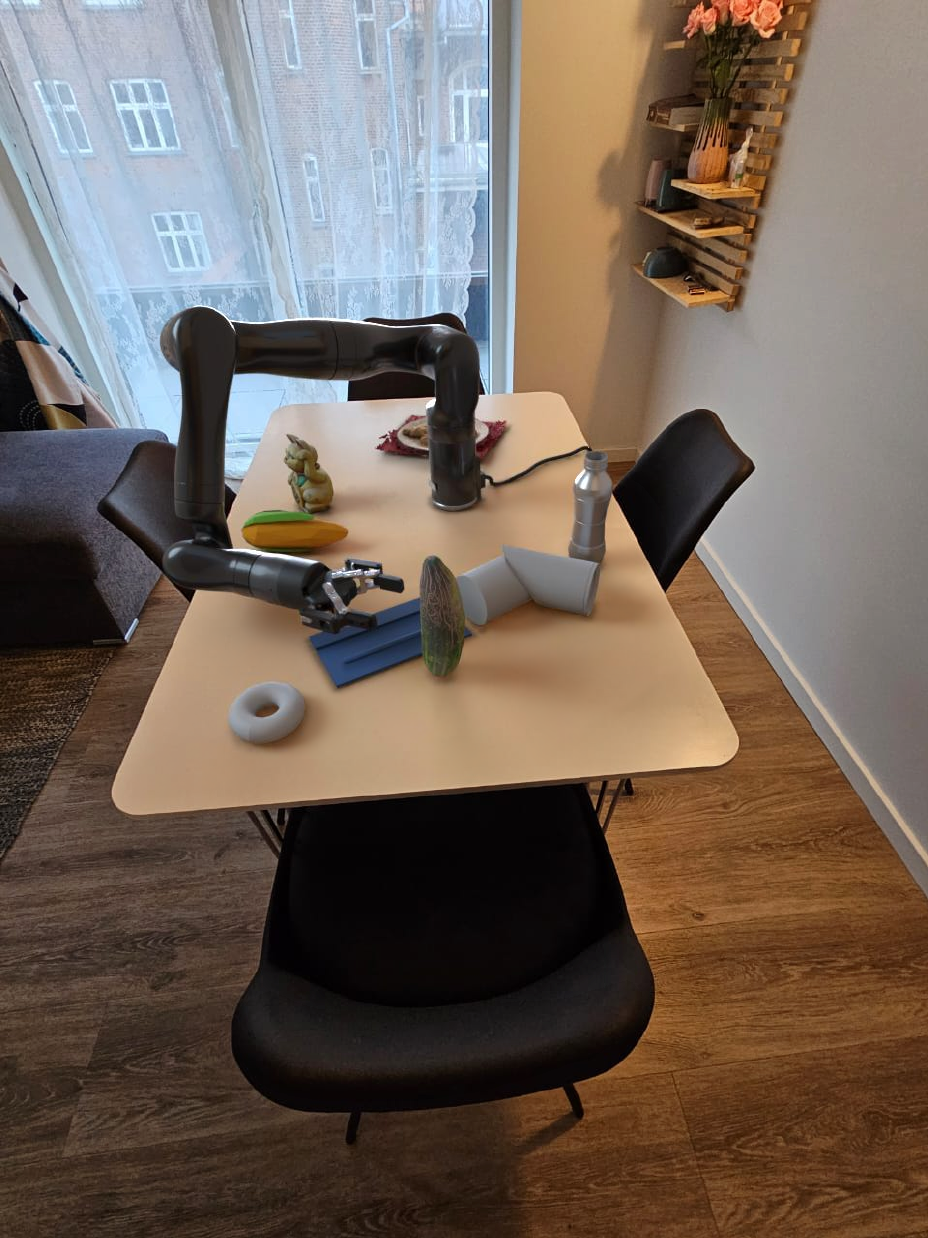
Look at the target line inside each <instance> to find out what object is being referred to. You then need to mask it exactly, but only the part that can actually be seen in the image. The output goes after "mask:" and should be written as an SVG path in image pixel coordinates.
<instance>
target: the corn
mask: <svg viewBox="0 0 928 1238" xmlns="http://www.w3.org/2000/svg"><path fill="white" fill-rule="evenodd" d="M240 532H241V534H242V535H241V536H242V539H244V540H245V542H246V543H247V544H249V545H250V546H252V547H254V548H257V549H258V550H261V551H269V552H275V553H296V552H297V553H299V552H313V551H314V549H311V548H316V547H324V546H325V547H326V546H327V545H331V544H333V543H336V542H340V541H342V540H344V539H346V538H347V537H348V535H349V530H348V528H346V527H345V526H344V525H341V524H338V523H335V522H331V521H327V520H323V519H319V518H316V515H313V514H311V513H306V512H302V511H288V510H282V509H275V510H273V509H272V510H262V511H260V512H256V513H255V514H254V515H252V516H251V517H249V518H248V519H247V520H246V521H244V524H243V526H242V528H241V530H240ZM309 548H310V549H309Z"/></svg>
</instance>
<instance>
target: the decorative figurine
mask: <svg viewBox="0 0 928 1238" xmlns="http://www.w3.org/2000/svg"><path fill="white" fill-rule="evenodd" d="M285 435H286V437H287V439H288V441H289V442H290V444H288V445H287V446H286V447H285V455H284V457H283V463H284V464H286V466H287V467H288V469H290V470H291V471H290V472H289V475H288V477H287V483H288V485H289V486H290V489H291V493H292V497H293V499H294V501H295V503H296V504H297V505H298V506H299V507H300V509H302V510H303V511H304V513H307V514H311V513H314V512H321V511H324V510H327V509H330V504H331V503H332V502H333V498H334V492H335V491H334V485H333V482H332V479H331V477H330V475H329V473H328V472H327V471H326V470H325V469H324V468H322V467H321V464H320V463H319V462H318V459H319V455H318V454H319V453H318V451H317V449H316V447H315V446H314V445H313V444H311V443H309V442H307V441H305V440H304V439H301V438H299V437H298V436H297V435H294V434H292V433H286V434H285Z"/></svg>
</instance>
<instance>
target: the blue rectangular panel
mask: <svg viewBox="0 0 928 1238" xmlns="http://www.w3.org/2000/svg"><path fill="white" fill-rule="evenodd" d="M373 614H374V615H375V616H376V619H377V626H376V628H375V629H362V628H357V627H353V626H349V627H342V628H341V629H340V632H339V633H338V634H331V633H327V632H324V631H321V632H318V633H315V634H312V635H309V636H308V639H309V641H310V643H311V645H312V647H313V648H314V650H315V652H316V654H317V655H318V657H319V659H320V661H321V662H322V664H323V667H324V668H325V669H326V671H327V673H328V675H329V677H330V679H331V680H332V682H333V684H334V685H335V687H336V689H338V688H342V687H344V686H346V685H349V684H353V683H354V682H357V681H359V680H362V679H364V678H367V677H370V676H372V675H375V674H377V673H379V672H383V671H385V670H388V669H390V668H392V667H395V666H398V665H401V664H403V663H406V662H408V661H411V660H413V659H416V658H418V657H421V656H423V654H422V635H421V616H420V596H419V597H416V598H414V599H411V600H409V601H405V602H403V603H400V604H397V605H394V606H392V607H388V608H386V609H383V610H380V611H377V612H375V613H373ZM472 636H473V634H472V632H471V631H470V630H469V629H468V627H467V626H466V625H465V637H464V640H465V639H467V638H470V637H472Z"/></svg>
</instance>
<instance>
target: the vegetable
mask: <svg viewBox="0 0 928 1238" xmlns="http://www.w3.org/2000/svg"><path fill="white" fill-rule="evenodd" d="M421 568H422V569H421V574H420V577H419V578H420V579H419V593H418V594H419V597H420V616H421V635H422V654H423V655H422V659H423V662H424V665H425V667H426V671H428V672H429V673H430V674H431V675H432V676H435V677H438V678H444V677H447V676H449V675H451V674H452V673H453V672H454V671H455V670H457V668H458V666H459V664H460V662H461V658H462V655H463V651H464V645H465V644H464V643H465V639H464V637H465V626H466V616H465V614H464V608H463V603H462V597H461V594H460V589H459V586H458V583H457V581H456V578H457V577H456V576H455V575H454V573H453V572H452V570H451V569H450V568H449V567H448V566H447V565H446V564H445V563H444V562H443V560H442V559H441V558H440V557H439V556H437V555H433V554H432V555H429V556H426V558H425V559H424V560H423V562H422V567H421Z"/></svg>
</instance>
